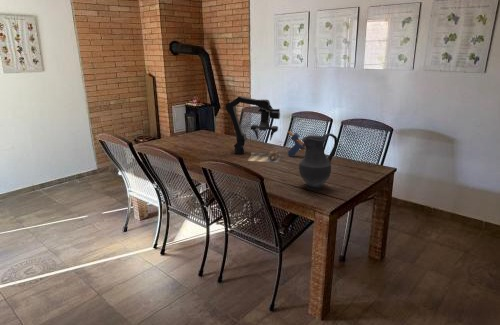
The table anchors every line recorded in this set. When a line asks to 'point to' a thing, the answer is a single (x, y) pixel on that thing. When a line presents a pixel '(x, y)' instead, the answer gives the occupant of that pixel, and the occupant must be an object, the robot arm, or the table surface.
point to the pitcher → (316, 161)
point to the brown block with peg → (273, 154)
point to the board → (262, 157)
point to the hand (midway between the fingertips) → (264, 139)
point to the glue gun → (296, 145)
